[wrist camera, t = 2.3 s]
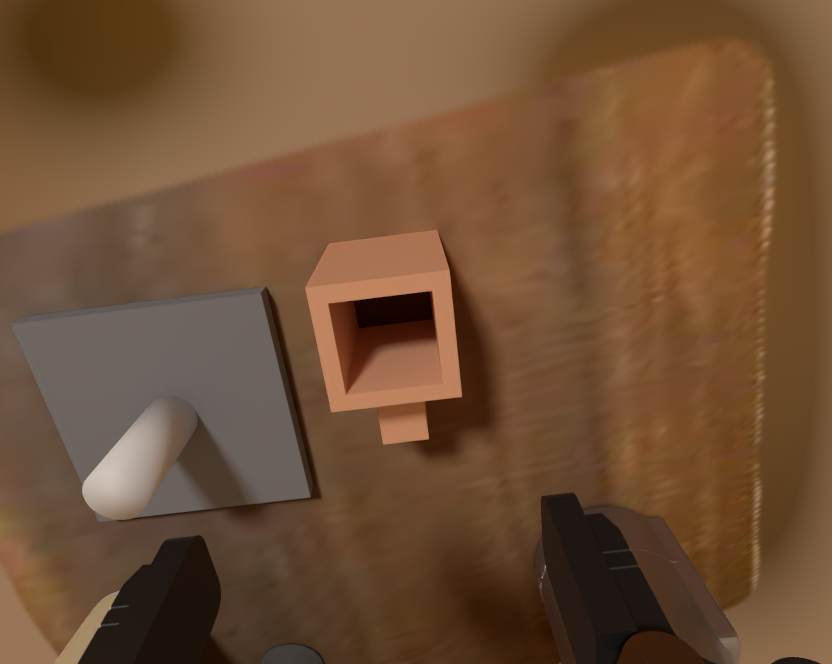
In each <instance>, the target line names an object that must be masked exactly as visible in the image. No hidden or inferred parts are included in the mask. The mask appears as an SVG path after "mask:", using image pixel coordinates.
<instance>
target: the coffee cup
mask: <svg viewBox="0 0 832 664" xmlns="http://www.w3.org/2000/svg"><path fill="white" fill-rule="evenodd" d="M118 593H119V591H117V592H114V593H111V594H110V595H108V596H106V597H105V598H103V599H102V600H101V601H100V602H99V603H98V604H97V605H96V606H95V607H94V609H93V610H92V611H91V613H90V614H89V615H88V617H87V618H86V619H85V621H84V622H83V624H82V625H81V626H80V628H79V629H78V631H77V632H76V633H75V635H74V636H73V637H72V639H71V640H70V642H69V643H68V644H67V646H66V647H65V649H64V650H63V651H62V653H61V654H60V656H59V657H58V659H57V660H56V661H55V663H54V664H78V662H79V660H80V658H81V657H82V655H83V653H84V652H85V650H86V648H87V646H88V645H89V643H90V641H91V640H92V638H93V636H94V634H95V633H96V631H97V629H98V628H100V627H101V622H102V621H103V619H104V617H105V615H106V614H107V612H108V610H111V605H112V603H113V602H114V600H115V598H116V596H117V595H118Z"/></svg>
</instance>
